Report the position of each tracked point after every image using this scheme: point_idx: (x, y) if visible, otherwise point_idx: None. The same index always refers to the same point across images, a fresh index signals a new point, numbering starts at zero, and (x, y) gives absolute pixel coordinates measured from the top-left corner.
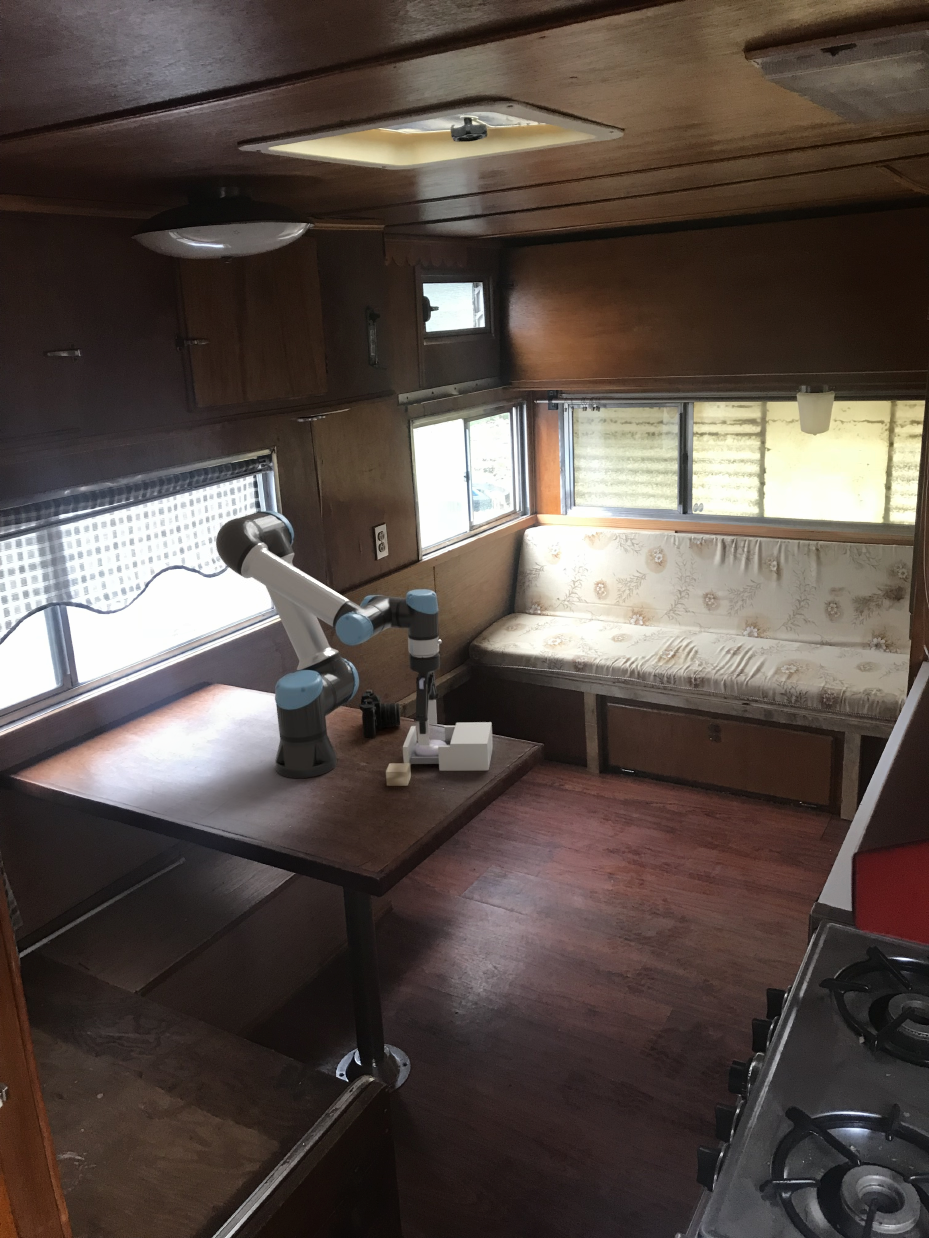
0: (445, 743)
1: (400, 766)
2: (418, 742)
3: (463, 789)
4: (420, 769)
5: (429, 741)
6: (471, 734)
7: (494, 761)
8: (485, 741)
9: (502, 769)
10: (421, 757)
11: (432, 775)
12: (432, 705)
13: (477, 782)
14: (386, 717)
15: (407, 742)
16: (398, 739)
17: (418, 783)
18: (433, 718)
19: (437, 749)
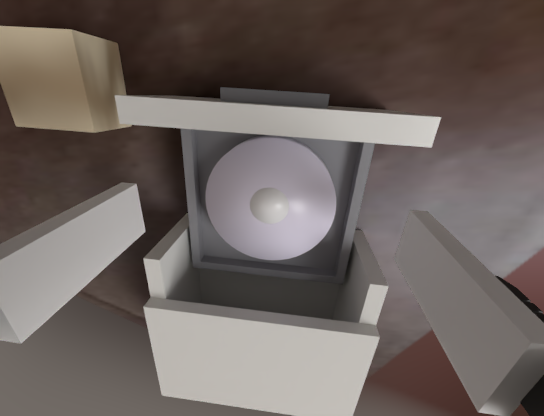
0: (287, 257)
1: (53, 92)
2: (111, 189)
3: None
4: None
5: (134, 239)
6: (238, 369)
7: None
8: (178, 393)
9: None
10: (186, 170)
11: (152, 194)
12: (459, 343)
13: (129, 295)
14: None
15: (180, 117)
16: (533, 20)
17: (90, 155)
18: (411, 268)
19: (231, 231)
